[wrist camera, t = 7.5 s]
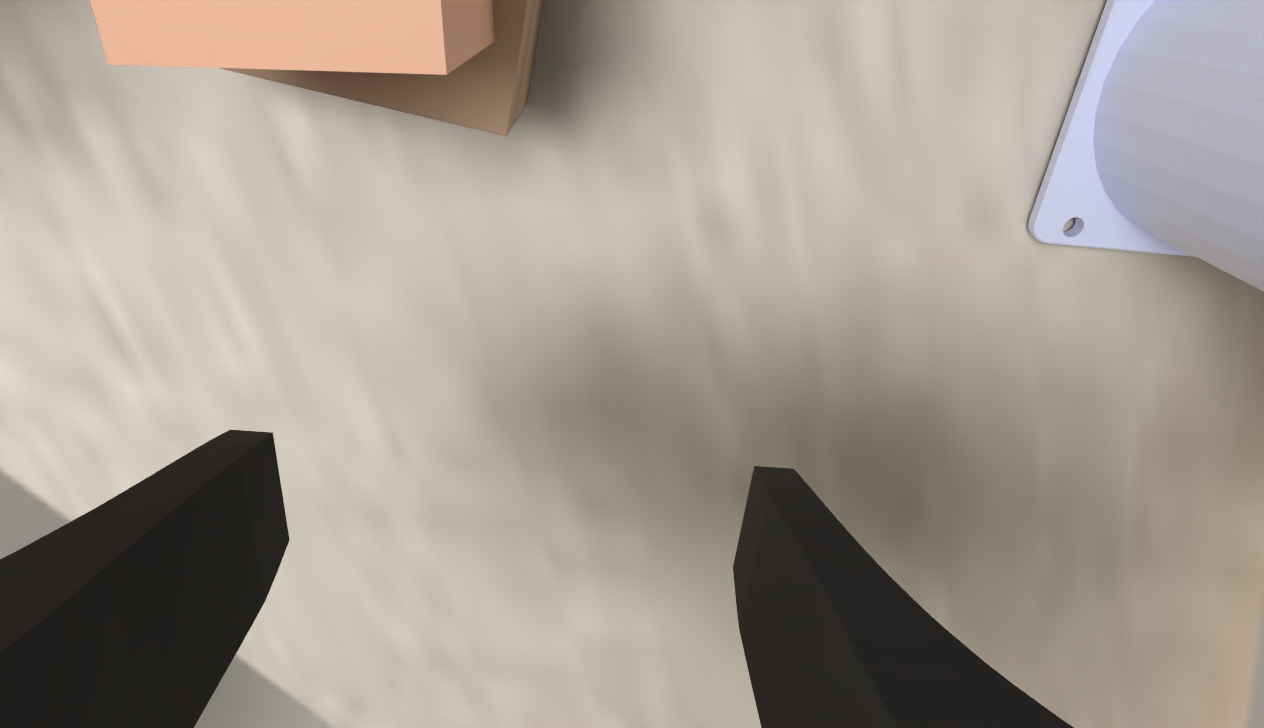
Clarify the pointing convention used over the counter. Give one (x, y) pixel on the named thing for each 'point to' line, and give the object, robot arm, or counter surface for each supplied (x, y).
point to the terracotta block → (296, 34)
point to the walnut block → (447, 78)
